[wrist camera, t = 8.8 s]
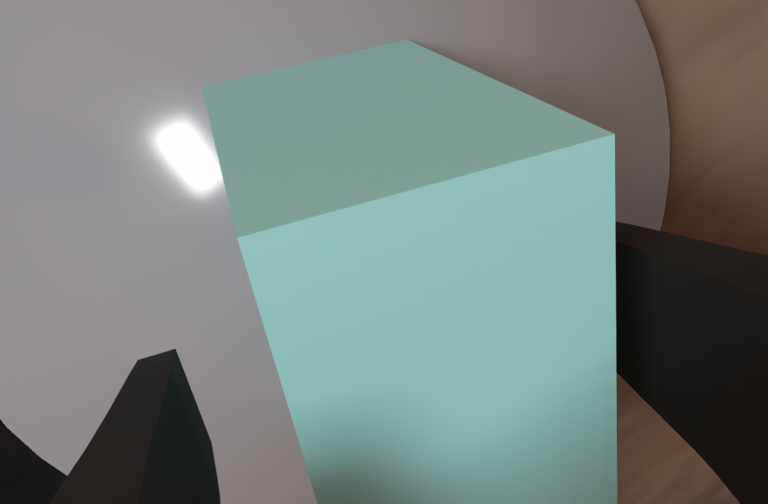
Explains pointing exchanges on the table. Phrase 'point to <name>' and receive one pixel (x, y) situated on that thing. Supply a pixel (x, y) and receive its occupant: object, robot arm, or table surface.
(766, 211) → the table surface
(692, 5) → the table surface
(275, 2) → the plate
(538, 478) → the tall mint rectangular block
